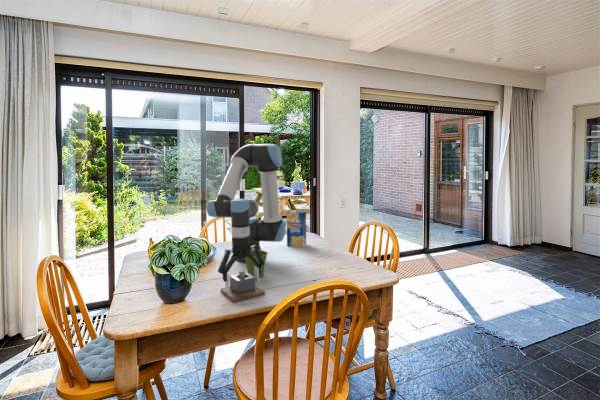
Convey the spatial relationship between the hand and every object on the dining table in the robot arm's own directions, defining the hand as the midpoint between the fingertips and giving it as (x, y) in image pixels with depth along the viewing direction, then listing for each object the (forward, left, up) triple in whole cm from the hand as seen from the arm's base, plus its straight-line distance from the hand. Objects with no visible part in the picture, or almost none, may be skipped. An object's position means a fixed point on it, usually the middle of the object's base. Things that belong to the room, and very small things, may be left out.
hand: (242, 285), depth 153 cm
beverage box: (-54, +63, -4) cm, 83 cm away
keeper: (0, 0, -4) cm, 4 cm away
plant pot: (-17, +15, -4) cm, 23 cm away
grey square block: (0, 0, -2) cm, 2 cm away
